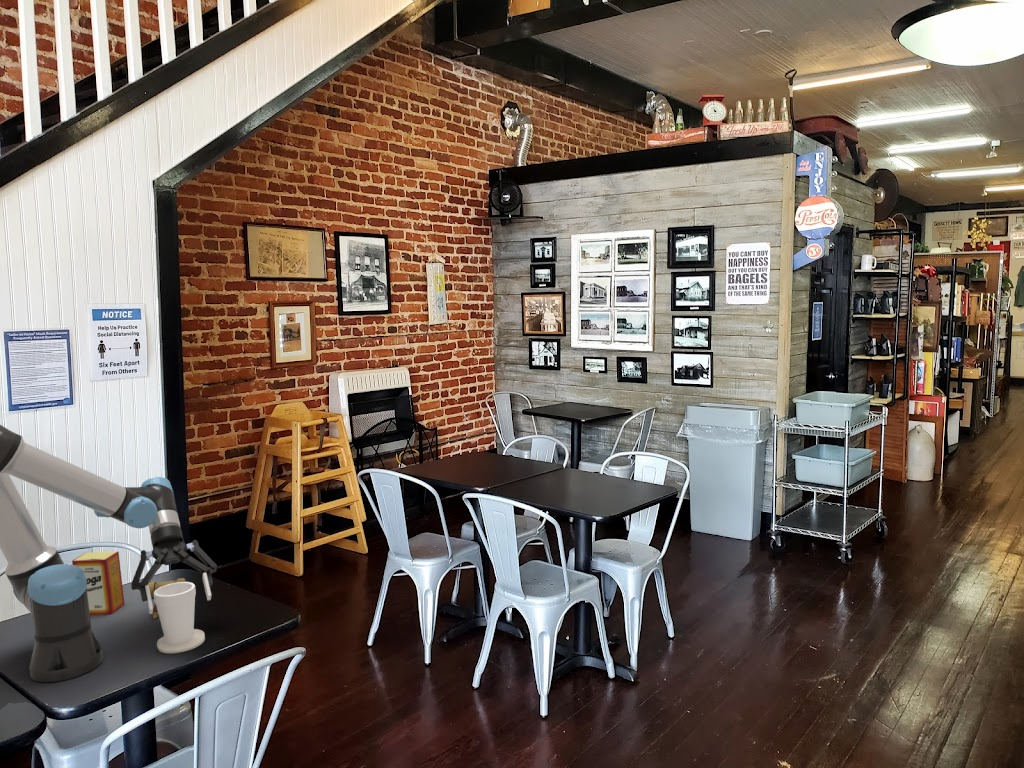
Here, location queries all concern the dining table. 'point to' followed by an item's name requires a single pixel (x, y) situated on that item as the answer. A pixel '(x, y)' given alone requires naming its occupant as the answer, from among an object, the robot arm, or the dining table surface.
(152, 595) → the gavel
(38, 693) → the dining table surface
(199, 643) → the plate
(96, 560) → the baking soda box
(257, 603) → the dining table surface
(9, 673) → the dining table surface
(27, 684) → the dining table surface
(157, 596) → the foam cup
